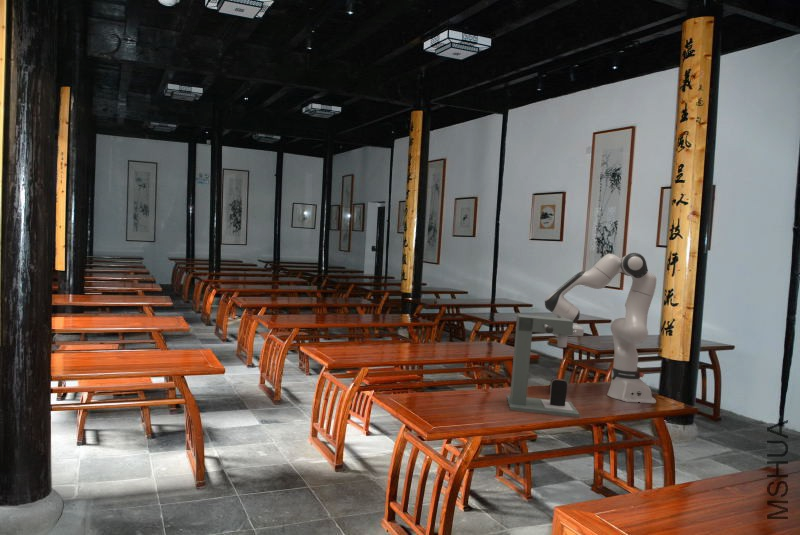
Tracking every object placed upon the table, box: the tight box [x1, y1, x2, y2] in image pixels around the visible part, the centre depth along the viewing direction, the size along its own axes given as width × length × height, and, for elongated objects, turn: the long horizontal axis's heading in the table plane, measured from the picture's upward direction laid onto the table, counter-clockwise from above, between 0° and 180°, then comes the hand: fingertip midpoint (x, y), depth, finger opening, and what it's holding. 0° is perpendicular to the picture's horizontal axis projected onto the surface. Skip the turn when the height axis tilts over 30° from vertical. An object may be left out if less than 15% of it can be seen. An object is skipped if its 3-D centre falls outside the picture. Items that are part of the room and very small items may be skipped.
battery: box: [549, 378, 568, 406], centre depth 260 cm, size 7×4×11 cm, turn 89°
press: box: [506, 313, 580, 418], centre depth 257 cm, size 29×28×40 cm
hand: (564, 332), depth 278 cm, fingers open, 8 cm apart
